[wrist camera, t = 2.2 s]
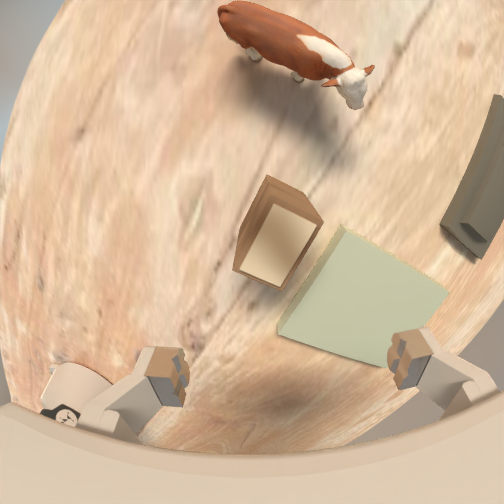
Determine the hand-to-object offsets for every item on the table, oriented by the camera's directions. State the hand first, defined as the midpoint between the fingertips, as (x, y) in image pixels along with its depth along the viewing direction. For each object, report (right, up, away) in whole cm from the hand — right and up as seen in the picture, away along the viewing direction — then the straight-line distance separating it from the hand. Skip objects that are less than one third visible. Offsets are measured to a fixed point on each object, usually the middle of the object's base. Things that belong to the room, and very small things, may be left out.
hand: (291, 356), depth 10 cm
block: (0, +8, +17) cm, 19 cm away
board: (+13, -3, +22) cm, 25 cm away
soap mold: (+29, +14, +15) cm, 36 cm away
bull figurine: (+2, +21, +11) cm, 24 cm away
